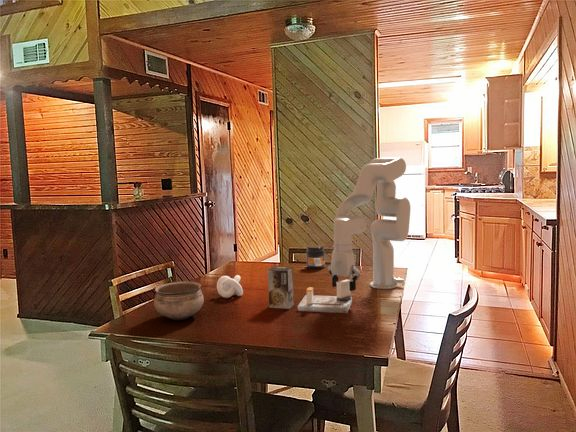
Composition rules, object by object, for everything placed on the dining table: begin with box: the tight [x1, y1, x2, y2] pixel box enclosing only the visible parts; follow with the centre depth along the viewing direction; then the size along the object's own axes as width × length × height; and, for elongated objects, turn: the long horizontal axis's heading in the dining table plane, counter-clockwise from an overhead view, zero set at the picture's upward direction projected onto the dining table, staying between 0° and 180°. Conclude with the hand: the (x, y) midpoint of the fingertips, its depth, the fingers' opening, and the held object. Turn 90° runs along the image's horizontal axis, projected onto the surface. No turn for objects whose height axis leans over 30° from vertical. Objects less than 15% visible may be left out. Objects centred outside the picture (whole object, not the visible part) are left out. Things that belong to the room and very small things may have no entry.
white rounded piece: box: [216, 274, 244, 299], centre depth 215 cm, size 11×12×9 cm
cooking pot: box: [153, 281, 205, 321], centre depth 187 cm, size 25×19×12 cm
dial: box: [336, 279, 352, 300], centre depth 199 cm, size 6×6×7 cm
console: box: [297, 294, 353, 314], centre depth 197 cm, size 20×16×2 cm
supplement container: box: [305, 244, 326, 270], centre depth 269 cm, size 10×10×12 cm
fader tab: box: [305, 286, 314, 304], centre depth 194 cm, size 2×4×6 cm, turn 166°
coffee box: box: [267, 266, 295, 310], centre depth 197 cm, size 9×6×16 cm
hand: (343, 288), depth 199 cm, fingers open, 9 cm apart
